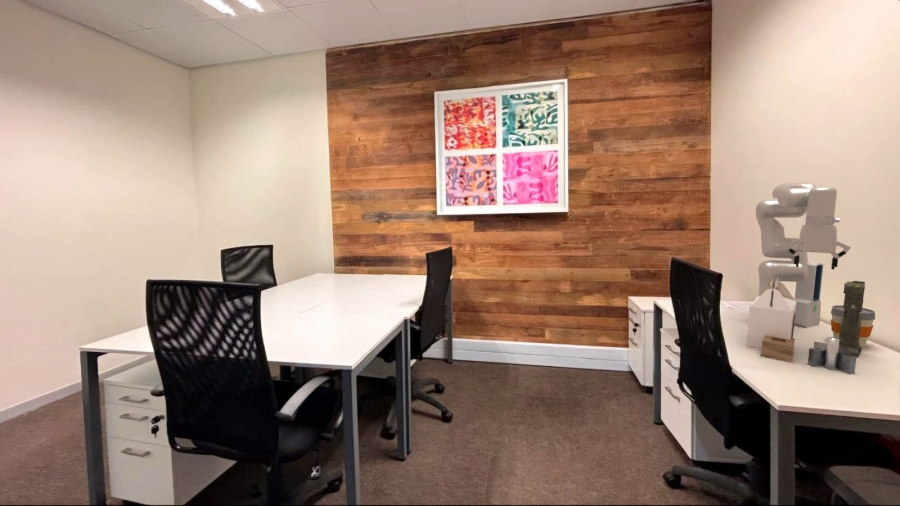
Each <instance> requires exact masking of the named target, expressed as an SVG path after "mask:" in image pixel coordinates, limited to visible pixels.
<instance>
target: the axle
mask: <svg viewBox="0 0 900 506" xmlns="http://www.w3.org/2000/svg"><path fill="white" fill-rule="evenodd" d="M839 340H840V339H838V338H835V337H833V336H827V341H826V344H827V346H826V355H825V364H824V366H823V367H824V368H825V369H826V368H827V370H830V371H832V370H833V371H836V370H837V369H836V365H837V357H838V348H839Z"/></svg>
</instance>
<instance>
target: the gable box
mask: <svg viewBox="0 0 900 506" xmlns="http://www.w3.org/2000/svg"><path fill="white" fill-rule="evenodd" d="M778 278H779V276H777V277H776V278H775V280H774V279H773V278H772V279H771V280H770V282H769V283H768V285H769V286H768V287H767V288H766V289H765V290H764V291H763V292H762V293H761V294H760V295H759V294H758V296H756V297H755V298H754V301H753V302H752V303H751V304H750V306H749V313H748V324H747V336H746V338H747V339H746V347H747V346H748V348H752V347H753V349H757V348H758V350H762V341H763V338H764V335H767V336H772V337H778V338H784V339H790V340H791V338H794V332H795V331H794V330H795V325H794V324H795V314H796V304H797V302H796V301H795V297H793V295H792V294H791V293H790V291H789V289H788V288H787V287H786V285H785V284H784V283H783V282H781V281H780V282H778ZM778 285H779V287H778Z"/></svg>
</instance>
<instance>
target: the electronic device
mask: <svg viewBox="0 0 900 506" xmlns="http://www.w3.org/2000/svg"><path fill="white" fill-rule="evenodd" d="M823 273H824V264H823V263H819V262H810V261H808V277H807V279H806V280H805V281H803V282H795V291H794V292H795V293H794V299H795V301H796V302H797V304H796V314H795V324H794V326H798V327H802V328H811V327H816V326H819V324H820V323H821V307H822V305H821V304H822V301H821V293H822V283H823V282H822V281H823Z"/></svg>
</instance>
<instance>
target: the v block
mask: <svg viewBox="0 0 900 506" xmlns="http://www.w3.org/2000/svg"><path fill="white" fill-rule="evenodd" d="M826 346H827V342H826V343H825V342H820V341H814V342H813V347H811V348H808V356H807V365H808V364H809V366H810V365H811V367H813V366H815V367H824V364H825V355H826ZM856 362H857V357H856V356H853V355H850V352H849V348H848V347H845V346H839V348H838V357H837V365H836V370H838V371H841V372H844V373H846V374H855V372H856V364H857V363H856Z"/></svg>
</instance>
